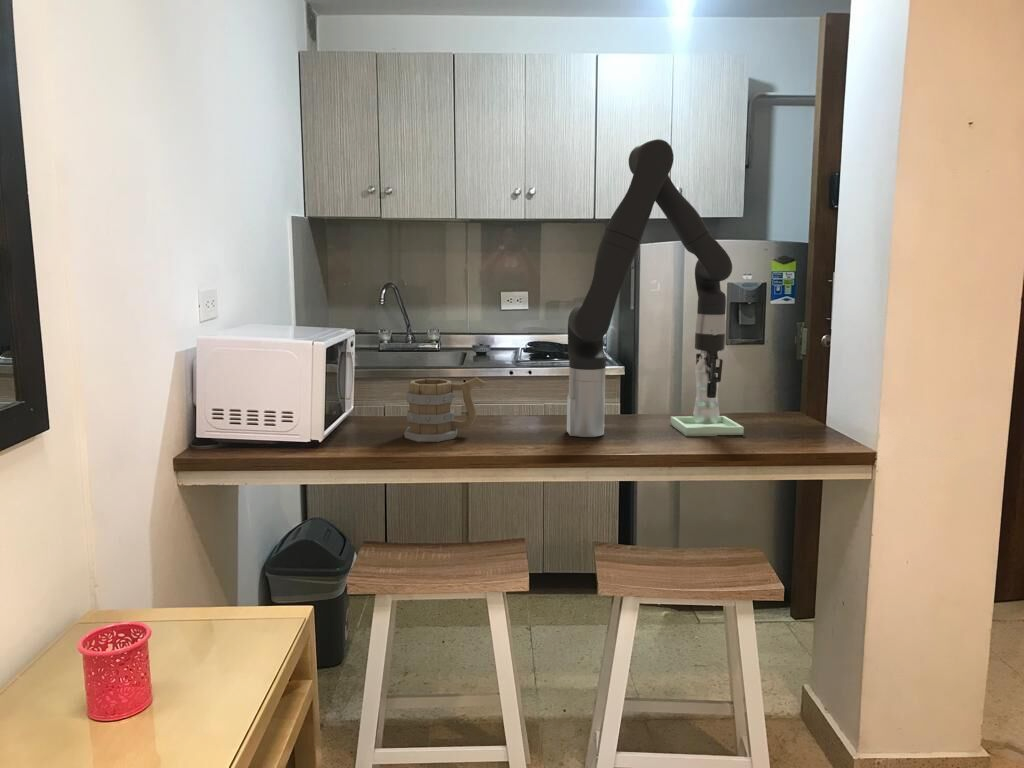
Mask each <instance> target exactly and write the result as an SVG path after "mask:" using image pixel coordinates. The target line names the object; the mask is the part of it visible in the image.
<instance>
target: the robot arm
mask: <svg viewBox="0 0 1024 768" xmlns="http://www.w3.org/2000/svg"><path fill="white" fill-rule="evenodd" d="M673 151H674V150H673V148H672V147H671V145H670V144H669V143H668V141H666V140H664V139H662V138H660V139H659V138H654V139H649V140H647V141H644V142H642V143H640V144H638V145H637V146H635V147H634V148H633V149H632V150H631V152H630V153H629V156H628V167H629V171H630V172H631V173H632V178H631V181H630V184H629V187H628V189H627V191H626V193H625V195H624V196H623V198H622V200H621V202H620V203H619V204H618V206H617V208H616V209H615V210H614V212H613V213H612V216H611V217H610V219H609V221H608V223H607V224H606V226H605V229H604V232H603V235H602V236H601V240H600V242H599V245H598V248H597V252H596V258H595V263H594V270H593V276H592V280H591V284H590V287H589V289H588V291H587V293H586V295H585V297H584V300H583V302H582V304H578V305H577V306H575V307H573V309H572V310H571V311H570V313H569V316H568V320H567V321H568V322H567V355H568V361H569V363H568V370H569V371H568V395H567V397H566V403H567V404H566V432H567V433H568V436H570V437H580V438H597V437H600V436H603V435H605V414H606V413H605V410H606V408H605V404H606V371H607V369H606V368H607V366H606V365H607V358H606V355H605V350H604V337H605V335H607V333H608V331H609V329H610V326H611V321H612V319H613V314H614V311H615V307H616V304H617V300H618V296H619V293H620V291H621V288H622V286H623V285H624V283H625V280H626V278H627V276H628V273H629V271H630V269H631V266H632V264H633V263H634V262H633V261H634V260H635V257H636V254H637V252H638V249H639V247H640V244H641V242H642V238H643V236H644V233H645V230H646V227H647V225H648V222H649V220H650V216H651V213H652V211H653V208H654V205H655V203H656V204H657V205H658V208H660V210H661V211H662V212H663V214H664V216H665V218H666V219H667V220H668V222H669V224H670V225H671V227H672V229H673V231H674V232H675V233H676V235H677V237H678V238H679V240H680V241H681V243H682V246H683V247H684V248H685V250H686V251H687V252H688V253H690V254H692V255H694V256H695V258H697V261H696V263H695V267H694V279H695V280H694V281H695V287H696V292H697V308H696V310H697V311H696V312H697V314H696V320H695V332H694V349H695V350H698V351H700V353H696V354H695V359H696V360H695V366H696V365H697V363H698V362H699V361H700V359H701V358H702V355H701V353H702V351H706V352H707V356H706V358H703V359H702V361H703V364H705V375H707V382H708V383H707V397H708V398H715V397H716V387H717V384H716V383H718V382H719V383H721V380H722V370H723V362H724V360H723V359H721V358H719V356H718V355H719V352H721V351H724V350H725V345H726V325H727V321H726V310H727V309H726V307H727V305H726V304H727V300H726V299H727V298H726V294H725V292H723V291H722V290H721V282H722V281H723V282H724V281H725V280H728V278H729V277H730V276H731V274H732V271H733V264H732V260H731V258H730V256H729V255H728V253H727V251H726V250H725V249H724V248H723V246H721V244H720V243H719V242H718V241H717V239H715V238H714V237H713V235H711V233H710V231H709V229H708V227H707V225H706V224H705V221H704V220H703V219H702V217H701V216H700V214H699V213H698V211H697V210H696V209H695V207H694V206H693V205H692V204H691V203H690V201H688V200H687V199H686V198H685V197H684V196H683V195H682V193H681V192H680V191H679V190H678V188H677V187H676V186H675V184H674V183H673V181H672V180H671V177H670V175H669V174H670V172H671V170H672V167H673V164H674V157H675V156H674V152H673ZM707 366H708V367H709V368H711V371H709V370H708V367H707Z"/></svg>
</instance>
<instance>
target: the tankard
mask: <svg viewBox="0 0 1024 768" xmlns="http://www.w3.org/2000/svg"><path fill="white" fill-rule="evenodd" d="M485 384H486V382H485V381H484V380H482V379H481V378H479V377H477V376H476V377H473V378H472V379H470V380H468V381H465V382H463V383H452V380H449V379H443V378H420V379H413V380H411V381H410V382H409V383H408V391H407V393H406V402H407V403H408V404H409V409H408V411H407V412H406V422H408V423H409V426H408V427H407V428H406V429H405V431H404V438H405V439H407V440H411V441H414V442H417V443H439V442H445V441H450V440H454V439H456V437H457V435H458V430H463V429H464V430H465V429H469V428H470V429H471V428H472V426H473V424H474V422H475V420H476V419H477V408H476V405H475V402H474V401H473V396H472V388H473V387H476V386H477V387H479V388H480V389H483V388H484V387H485ZM455 391H462V396H463V402H464V405H465V408H466V409H467V417H466V419H465V420H459V419H458V420H457V419H454V418H455V416H456V415H455V409H454V408H452V407H453V404H452V403H453V401H454V400H455V393H454V392H455Z"/></svg>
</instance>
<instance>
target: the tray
mask: <svg viewBox="0 0 1024 768" xmlns="http://www.w3.org/2000/svg"><path fill="white" fill-rule="evenodd" d="M670 426H672V427H673V428H674V429H676V430H677V431H679V432H680V433H681V434H682V435H684V436H685V437H718V436H717V435H743V436H744V432H745V431H744V430H745V426H742V425H741V424H740V423H738V422H735V421H734V420H732V419H730V418H728V417H727V416H725V415H719V420H718V421H717V423H714V424H708V425H705V424H701V423H697V422H696V421H695V420H694V416H670Z"/></svg>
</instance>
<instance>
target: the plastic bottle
mask: <svg viewBox="0 0 1024 768" xmlns="http://www.w3.org/2000/svg"><path fill="white" fill-rule="evenodd" d="M700 353H701V352H700ZM701 355H702V358H701V359H700V361H699V362H698V363H697V365H696V364H695V368H694V372H695V382H696V383H695V387H696V395H695V396H696V397H695V403H694V405H695V406H694V408H693V413H692V414H693V416H694V420H695V421H696V422H697V423H701V424H705V425H708V424H714V423H717V421H718V420H719V416H720V407H719V397H718V395H719V393H718V392H719V386H720V385H719V383H720V382H718V383H716V384H717V387H716V397H715V398H708V397H707V383H708V382H707V375H705V364H703V361H702V359H703V358H706V356H707V352H706V351H702V353H701ZM707 367H708V366H707ZM708 370H709V371H711V368H709V367H708Z"/></svg>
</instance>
